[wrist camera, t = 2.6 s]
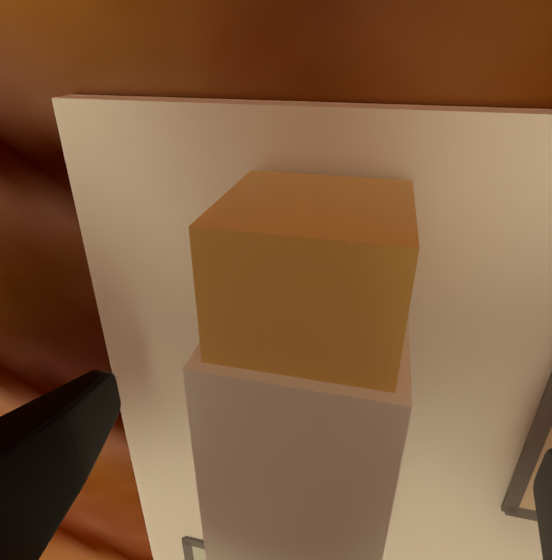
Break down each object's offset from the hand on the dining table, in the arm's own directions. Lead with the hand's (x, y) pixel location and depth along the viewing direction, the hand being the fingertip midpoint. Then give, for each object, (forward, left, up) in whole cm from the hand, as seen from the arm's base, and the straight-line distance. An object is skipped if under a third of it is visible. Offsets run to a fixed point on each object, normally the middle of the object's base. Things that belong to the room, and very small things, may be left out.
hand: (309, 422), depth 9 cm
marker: (0, 0, -1) cm, 1 cm away
